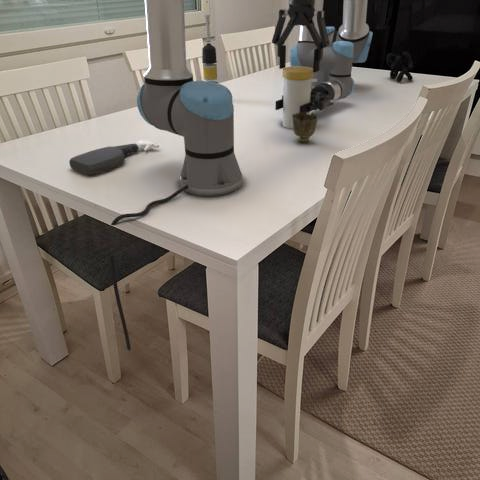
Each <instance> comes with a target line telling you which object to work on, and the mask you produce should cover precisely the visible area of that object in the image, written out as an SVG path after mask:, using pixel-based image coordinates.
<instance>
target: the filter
mask: <svg viewBox="0 0 480 480" xmlns="http://www.w3.org/2000/svg"><path fill="white" fill-rule="evenodd" d="M210 17H211V14H204V18H205V27H206V29H205V30H206V31H205V33H206V39H207V40H206V42H207V43H206V45H204V46H202V49H201V50H202V51H201V52H202V54H201V55H202V57H201V58H202V61H201V63H202V71H203V72H202V73H203V74H202V75H203V81H206V82H215V83H218V84H219V82H218V81H216V80H218V64H216V63H218V61H217V48H216V47H215V46H214V45H212V43H210V42H211V40H210V39H211V31H210V29H211V28H210Z"/></svg>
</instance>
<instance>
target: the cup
mask: <svg viewBox="0 0 480 480" xmlns="http://www.w3.org/2000/svg"><path fill="white" fill-rule="evenodd" d="M292 118H293V129H292V130H293V133H294V135H295V136H296V137H297V141H298V142H299V143H301V144H302V143H303V144H304V143H305V144H306V143H308V142H310V139H311V137H312V136H313V135H314V134H315V132H316V128H317V123H318V118H319V115H318V114H317V113H314V112H313V111H311V112H310V113H309V115H307V112H305V113H303V112H299V113H296V114H293V115H292Z"/></svg>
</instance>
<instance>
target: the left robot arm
mask: <svg viewBox="0 0 480 480" xmlns="http://www.w3.org/2000/svg"><path fill="white" fill-rule="evenodd" d="M314 4H315V0H288V9H286V8H282V9H279V10H278V20H277V22H276V26H275V29H274V33H273V35H272V39H271V43H272V44H274V45H276V46H277V49H276V50H277V51H276V55H277V57H278V58H279V63H278V64H279V67H278V69H280V70H283V69H284V68H286V67H287V66H286V65H287V64H286V63H287V62H286V61H287V60H286V59H287V45H286V44H285V43H286V41H287V39H288V38H289V36H290V35H291V32H292V31H293V29H294V27H295V26H296V27H297V26H299V25H301V26H306V28H307V29H308V30H309V33H310V35H311V37H312V39H313V41H314V43H315V45H316V47H317V48H316V49H314V63H313V72H317V71H319V63H320V60H322V58H323V48H325V47H327V46H329V45H330V43H329V38H328V34H327V29H326V27H327V26H326V20H325V10H324V9H323V10H321V11H315V9H314ZM144 8H145V23H146V34H147V35H146V36H147V48H148V62H149V63H148V64H149V67H148V68H147V70H146V71H145V72H144V74H143V83H142V84H141V85H140V89H138V91H137V94H136V105H137V110H138V112H139V115H140V116H141V118H142V119H143V121H145V122H146V123H147V124H149V126H153V128H156V129H157V130H160V131H166V132H168V133H171V134H174V135H177V136H181V137H183V141H184V142H183V143H184V154H185V155H184V158H183V164H182V168H181V171H180V176H179V183H180V184H179V185H180V188H179V189H177V190H176V191H175V192H173V193H172V194H170V195H169V196H167V197H165V198H162V199H157V200H153V201H151V202H149V203H148V204H147V205H146V206H145V208H144V209H143V210H142V211H140V212H134V213H123V214H120V215H118V216H116V217H115V218H114V219H113V221H112V222H111V224H110V226H115V225H117V223H118V222H119V221H120V220H123V219H126V218H139V217H142V216H145V215H146V214H147V213H148V212H149V211H150V209H151V208H152V207H153V206H156V205H159V204H164V203H167V202H169V201H171V200H172V199H174V198H175V197H177V196H178V195H180V194H181V193H183V192H186V193H187V194H190V195H194V196H199V197H221V196H224V195H229V194H232V193H234V192H235V191H237V190H239V189H240V188H241V187H242V185H243V174H242V171H241V168H240V165H239V163H238V160H237V157H236V154H235V125H234V124H235V121H234V119H235V115H234V114H235V113H234V112H235V110H234V109H235V106H234V102H233V95H232V92H231V90H230V89H229V87H227V86H226V85H223V84H221V83H219V82H218V83H215V82H216V81H215V82H207V81H206V80H194V74H193V73H192V72H191V70H190V69H189V68H188V67H187V50H186V22H185V21H186V20H185V0H144ZM314 15H315V17H316V19H317V24H318V28H319V32H320V36H319V34H318V32H317V30H316V28H315V24H314V22H313V20H312V18H313V17H314ZM287 17H289V20H288V22H287V23H286V21H287ZM285 23H286V26H285ZM284 26H285V28H284ZM320 37H321V38H320ZM109 259H110V270H111V271H110V272H111V279H112V285H113V290H114V296H115V300H116V304H117V308H118V313H119V317H120V322H121V325H122V329H123V334H124V339H125V344H126V349H127V351H131V349H132V347H131V341H130V337H129V332H128V328H127V327H128V326H127V322H126V318H125V314H124V310H123V306H122V302H121V297H120V291H119V287H118V281H117V274H116V273H117V272H116V261H115V260H116V259H115V255H110V256H109Z"/></svg>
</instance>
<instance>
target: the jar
mask: <svg viewBox="0 0 480 480" xmlns="http://www.w3.org/2000/svg"><path fill="white" fill-rule="evenodd" d="M311 81H312V78H311V79H306V80H291V79H286V78H283V94H282V95H283V108H282V127H284V128H286V129H291V130H293V118H292V115H293V114H296V113H299V112H300V106H301V105H304V104H306V103H309V102H310V96H311V91H312V90H311ZM307 115H310V112H308V113H307Z"/></svg>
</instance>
